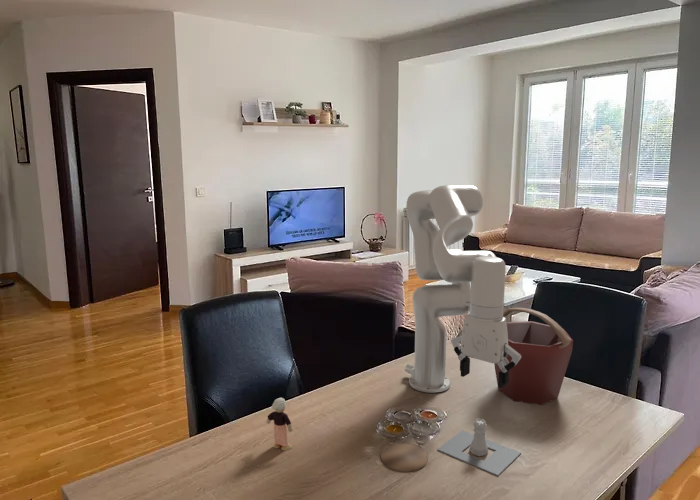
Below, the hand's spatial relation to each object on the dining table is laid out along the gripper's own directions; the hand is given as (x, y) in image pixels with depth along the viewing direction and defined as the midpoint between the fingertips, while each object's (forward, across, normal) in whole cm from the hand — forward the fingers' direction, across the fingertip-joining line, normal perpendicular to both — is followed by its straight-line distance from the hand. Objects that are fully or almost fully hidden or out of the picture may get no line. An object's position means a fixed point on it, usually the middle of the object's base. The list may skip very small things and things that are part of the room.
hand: (483, 380), depth 127 cm
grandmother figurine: (+19, -38, -30) cm, 52 cm away
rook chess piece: (+18, 0, 0) cm, 19 cm away
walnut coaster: (+18, -12, -14) cm, 26 cm away
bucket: (+19, -5, +40) cm, 44 cm away
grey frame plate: (+18, 0, 0) cm, 18 cm away
